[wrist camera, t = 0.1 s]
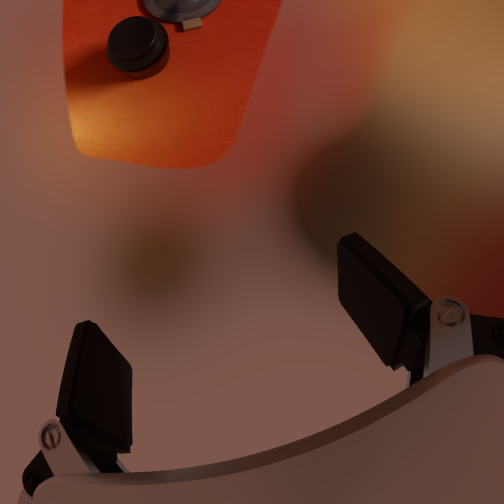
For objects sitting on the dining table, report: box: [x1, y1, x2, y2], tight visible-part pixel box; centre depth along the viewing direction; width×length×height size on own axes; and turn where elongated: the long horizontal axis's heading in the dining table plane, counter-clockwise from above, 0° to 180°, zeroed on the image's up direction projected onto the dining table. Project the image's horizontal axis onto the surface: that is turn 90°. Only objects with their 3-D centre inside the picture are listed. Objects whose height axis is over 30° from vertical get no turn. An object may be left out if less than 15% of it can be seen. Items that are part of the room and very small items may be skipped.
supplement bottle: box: [107, 16, 170, 79], centre depth 21 cm, size 7×7×12 cm
